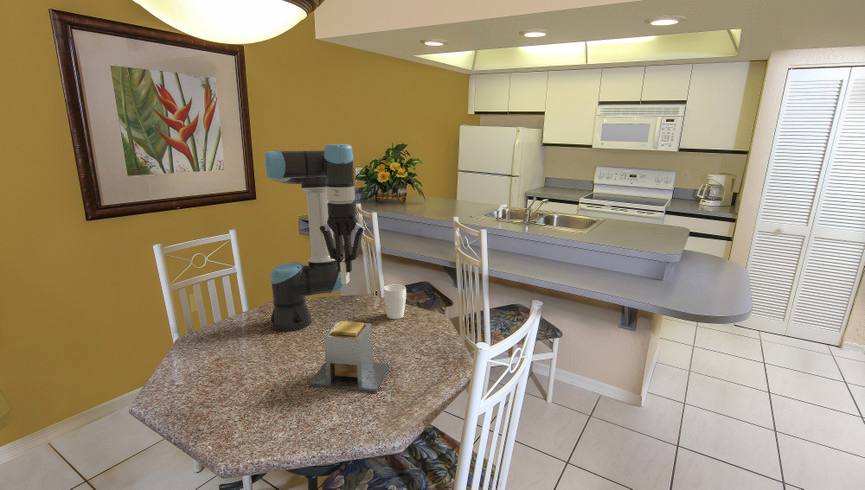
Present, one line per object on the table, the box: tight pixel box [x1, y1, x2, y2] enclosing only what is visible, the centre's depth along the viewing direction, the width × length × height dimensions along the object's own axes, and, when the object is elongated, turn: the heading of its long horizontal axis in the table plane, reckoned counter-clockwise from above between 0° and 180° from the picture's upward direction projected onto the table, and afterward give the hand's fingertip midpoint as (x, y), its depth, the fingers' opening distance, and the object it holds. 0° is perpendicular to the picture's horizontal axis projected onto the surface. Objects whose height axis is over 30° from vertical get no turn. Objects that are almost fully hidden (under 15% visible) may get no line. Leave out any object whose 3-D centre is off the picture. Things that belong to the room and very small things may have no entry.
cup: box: [382, 283, 407, 320], centre depth 170 cm, size 9×9×12 cm
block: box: [332, 320, 365, 378], centre depth 126 cm, size 7×7×14 cm
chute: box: [308, 321, 390, 394], centre depth 126 cm, size 20×14×15 cm
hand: (345, 282), depth 124 cm, fingers closed
